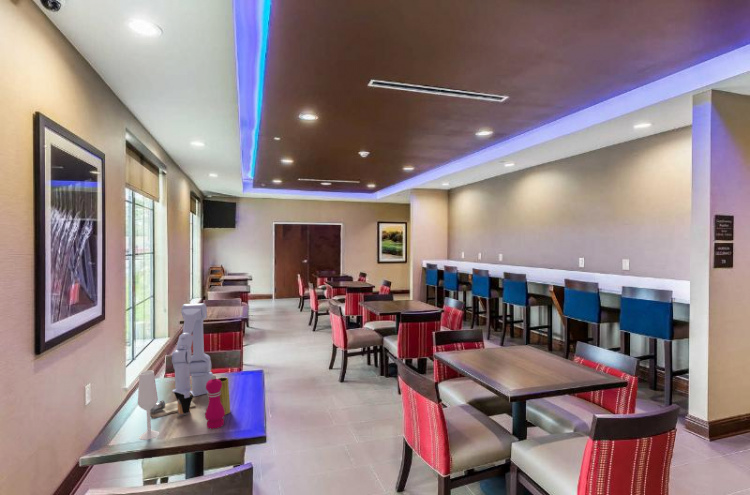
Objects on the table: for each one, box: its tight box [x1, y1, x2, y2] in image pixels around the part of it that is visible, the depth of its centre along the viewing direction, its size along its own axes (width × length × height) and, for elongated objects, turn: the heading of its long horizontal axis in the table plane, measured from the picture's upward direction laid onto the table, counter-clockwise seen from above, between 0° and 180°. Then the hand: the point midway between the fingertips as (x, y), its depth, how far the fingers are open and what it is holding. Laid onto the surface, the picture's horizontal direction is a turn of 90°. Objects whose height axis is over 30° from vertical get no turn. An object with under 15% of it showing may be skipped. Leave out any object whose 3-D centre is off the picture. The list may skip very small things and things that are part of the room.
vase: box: [217, 377, 231, 416], centre depth 175 cm, size 6×6×14 cm
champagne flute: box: [137, 370, 160, 441], centre depth 156 cm, size 7×7×24 cm
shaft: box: [150, 400, 166, 414], centre depth 176 cm, size 5×4×5 cm
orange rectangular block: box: [176, 398, 191, 417], centre depth 175 cm, size 4×4×6 cm
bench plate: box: [150, 400, 196, 419], centre depth 181 cm, size 17×11×1 cm, turn 127°
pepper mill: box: [204, 374, 226, 430], centre depth 163 cm, size 7×7×20 cm
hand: (183, 409), depth 175 cm, fingers open, 7 cm apart
